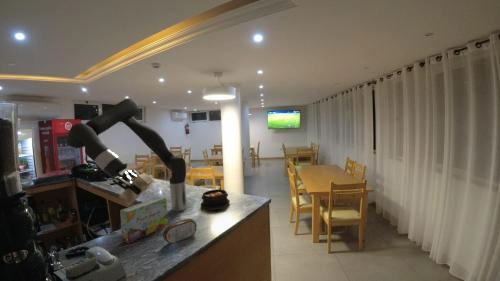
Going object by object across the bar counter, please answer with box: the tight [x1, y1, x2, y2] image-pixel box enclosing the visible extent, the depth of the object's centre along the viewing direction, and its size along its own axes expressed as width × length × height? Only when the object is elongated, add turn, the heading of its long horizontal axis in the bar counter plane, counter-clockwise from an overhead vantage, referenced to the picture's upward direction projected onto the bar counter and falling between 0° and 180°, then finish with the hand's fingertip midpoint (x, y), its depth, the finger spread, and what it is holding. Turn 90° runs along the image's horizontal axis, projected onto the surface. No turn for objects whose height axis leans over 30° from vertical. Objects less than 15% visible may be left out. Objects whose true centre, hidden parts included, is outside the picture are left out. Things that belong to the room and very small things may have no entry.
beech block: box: [118, 172, 154, 206], centre depth 89 cm, size 5×5×12 cm
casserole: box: [200, 189, 230, 211], centre depth 140 cm, size 25×19×8 cm
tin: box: [162, 218, 198, 244], centre depth 99 cm, size 15×3×8 cm, turn 130°
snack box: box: [119, 196, 169, 245], centre depth 107 cm, size 21×6×15 cm, turn 149°
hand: (142, 190), depth 89 cm, fingers closed on beech block, 5 cm apart
